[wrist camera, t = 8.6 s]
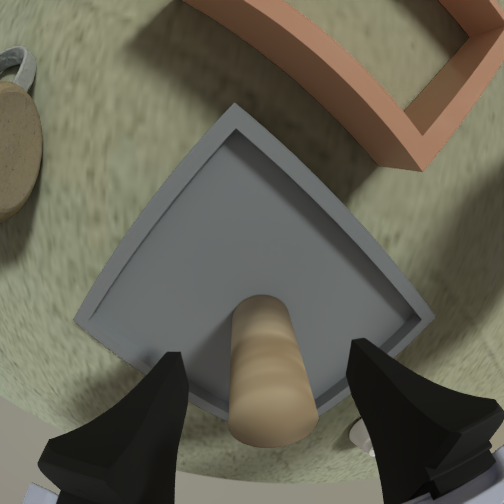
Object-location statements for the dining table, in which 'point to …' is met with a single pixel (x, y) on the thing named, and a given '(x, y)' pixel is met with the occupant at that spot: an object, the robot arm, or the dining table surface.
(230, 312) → the slate tray
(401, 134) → the terracotta planter box
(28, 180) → the ceramic mug
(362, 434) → the white jar
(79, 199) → the dining table surface
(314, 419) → the maple pin
